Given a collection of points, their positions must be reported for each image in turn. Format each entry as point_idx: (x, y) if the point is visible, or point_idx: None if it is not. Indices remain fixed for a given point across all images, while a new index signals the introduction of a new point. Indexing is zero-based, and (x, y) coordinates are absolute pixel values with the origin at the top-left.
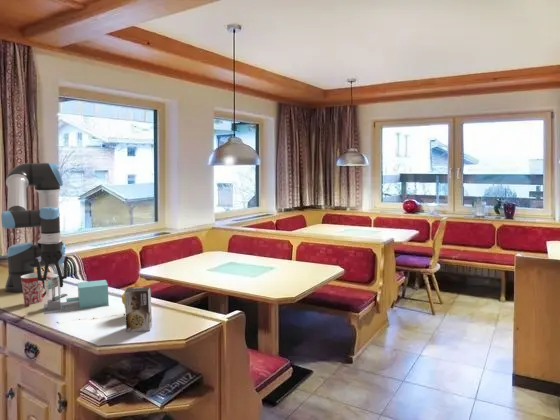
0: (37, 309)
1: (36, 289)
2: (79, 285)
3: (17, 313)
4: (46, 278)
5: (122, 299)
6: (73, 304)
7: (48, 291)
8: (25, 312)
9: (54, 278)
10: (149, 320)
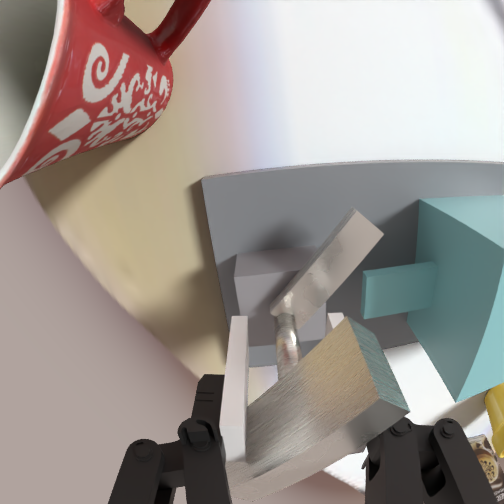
0: (171, 218)
1: (95, 141)
2: (485, 347)
3: (89, 261)
4: (220, 450)
5: (497, 443)
6: (389, 248)
7: (247, 359)
8: (121, 257)
9: (320, 468)
10: None
